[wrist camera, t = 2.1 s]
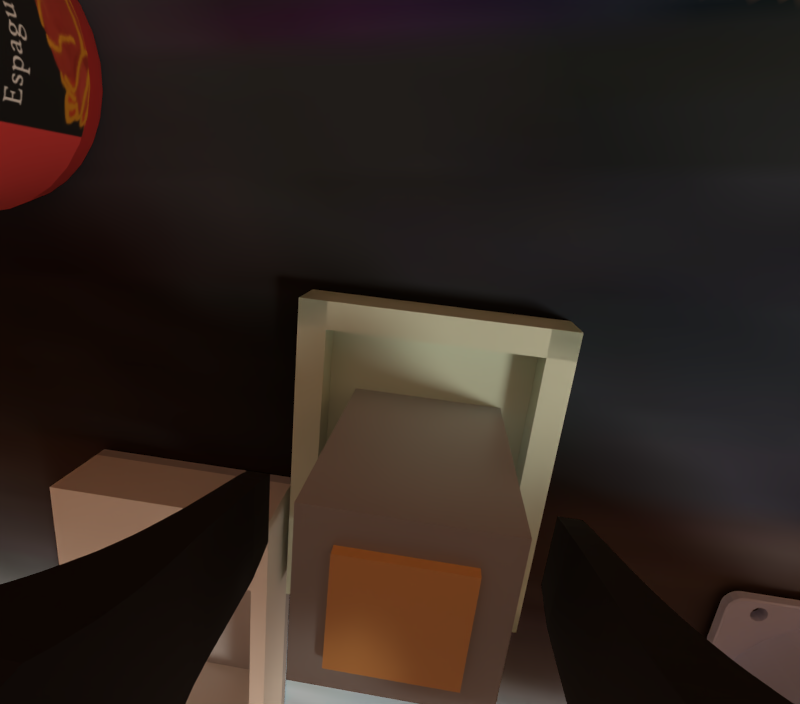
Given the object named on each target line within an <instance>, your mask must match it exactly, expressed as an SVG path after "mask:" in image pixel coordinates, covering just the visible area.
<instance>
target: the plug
mask: <svg viewBox="0 0 800 704" xmlns="http://www.w3.org/2000/svg"><path fill="white" fill-rule="evenodd" d="M531 542H532V537H531V532H530V528H529V524H528V520H527V516H526V512H525V508H524V504H523V500H522V495H521V491H520V487H519V483H518V479H517V475H516V471H515V467H514V462H513V458H512V454H511V450H510V446H509V442H508V438H507V434H506V430H505V425H504V421H503V417H502V413H501V409H500V408H496V407H489V406H482V405H474V404H467V403H460V402H452V401H445V400H438V399H430V398H423V397H416V396H409V395H401V394H394V393H387V392H379V391H372V390H365V389H358V388H356V389H355V391H354V393H353V394H352V396H351V398H350V400H349V402H348V404H347V406H346V407H345V409H344V411H343V413H342V415H341V417H340V418H339V420H338V422H337V424H336V426H335V428H334V430H333V431H332V433H331V435H330V437H329V439H328V441H327V443H326V444H325V446H324V448H323V450H322V452H321V454H320V456H319V457H318V459H317V461H316V463H315V465H314V467H313V469H312V470H311V472H310V474H309V476H308V478H307V480H306V482H305V483H304V485H303V487H302V489H301V491H300V493H299V495H298V496H297V498H296V500H295V502H294V520H293V542H292V563H291V585H290V607H289V628H288V650H287V672H286V680H292V681H298V682H303V683H309V684H314V685H320V686H325V687H331V688H336V689H342V690H347V691H353V692H358V693H364V694H369V695H375V696H380V697H386V698H391V699H397V700H402V701H408V702H413V703H419V704H496V701H497V696H498V692H499V687H500V683H501V678H502V673H503V669H504V664H505V660H506V655H507V651H508V646H509V642H510V637H511V633H512V628H513V624H514V619H515V615H516V610H517V606H518V601H519V596H520V592H521V587H522V583H523V578H524V574H525V569H526V565H527V560H528V556H529V551H530V547H531Z"/></svg>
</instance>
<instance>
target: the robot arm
mask: <svg viewBox="0 0 800 704" xmlns="http://www.w3.org/2000/svg"><path fill="white" fill-rule="evenodd" d="M269 497H270V474H266V473H259V472H253V471H245V472H244V473H242V474H240V475H238V476H236V477H235V478H233V479H231V480H230V481H228V482H226V483H225V484H223V485H222V486H220V487H218V488H217V489H215V490H213V491H212V492H210V493H208V494H207V495H205V496H203V497H202V498H200V499H198V500H197V501H195V502H193V503H192V504H190V505H188V506H186V507H185V508H183V509H181V510H179V511H178V512H176V513H174V514H172V515H170V516H168V517H166V518H165V519H163V520H161V521H159V522H157V523H155V524H153V525H151V526H150V527H148V528H146V529H144V530H142V531H140V532H138V533H136V534H134V535H132V536H130V537H127V538H125V539H123V540H121V541H119V542H116V543H114V544H112V545H109V546H107V547H105V548H103V549H100V550H98V551H96V552H93V553H91V554H88V555H85V556H83V557H80V558H77V559H75V560H72V561H69V562H66V563H64V564H61V565H58V566H56V567H53V568H50V569H47V570H45V571H42V572H39V573H36V574H33V575H30V576H27V577H23V578H20V579H17V580H14V581H11V582H7V583H4V584H0V704H186V701H187V699H188V697H189V695H190V693H191V690H192V688H193V686H194V684H195V682H196V680H197V678H198V676H199V674H200V672H201V671H202V669H203V667H204V665H205V663H206V661H207V659H208V658H209V656H210V654H211V652H212V651H213V649H214V647H215V645H216V644H217V642H218V640H219V638H220V637H221V635H222V633H223V631H224V630H225V628H226V626H227V624H228V623H229V621H230V619H231V617H232V616H233V614H234V612H235V610H236V609H237V607H238V605H239V603H240V601H241V600H242V598H243V596H244V594H245V592H246V591H247V589H248V587H249V585H250V583H251V582H252V580H253V578H254V575H255V573H256V571H257V568H258V566H259V564H260V561H261V559H262V556H263V554H264V551H265V549H266V546H267V544H268V534H269ZM541 586H542V594H543V602H544V609H545V616H546V623H547V628H548V632H549V636H550V640H551V644H552V648H553V652H554V656H555V660H556V664H557V667H558V671H559V675H560V678H561V682H562V686H563V690H564V693H565V697H566V701H567V704H800V600H794V599H788V598H782V597H775V596H769V595H763V594H756V593H750V592H744V591H733V592H730V593H728V594H726V595H725V596H724V597H723V598H722V600H721V601H720V604H719V607H718V609H717V612H716V615H715V617H714V620H713V623H712V625H711V628H710V631H709V633H708V636H707V639H706V638H705V637H703V636H702V635H701V634H700V633H698V632H697V631H696V630H695V629H694V628H693V627H691V626H690V625H689V624H688V623H687V622H686V621H684V620H683V619H682V618H681V617H680V616H679V615H678V614H677V613H676V612H674V611H673V610H672V609H671V608H670V607H669V606H668V605H667V604H666V603H665V602H664V601H662V600H661V599H660V598H659V597H658V596H657V595H656V594H655V593H654V592H653V591H652V590H651V589H650V588H649V587H648V586H647V585H646V584H645V583H644V582H643V581H642V580H641V579H640V578H639V577H638V576H637V575H636V574H635V573H634V572H633V571H632V570H631V569H630V568H629V567H628V566H627V565H626V564H625V563H624V562H623V561H622V560H621V559H620V558H619V557H618V556H617V555H616V554H615V553H614V552H613V551H612V550H611V549H610V548H609V546H608V545H607V544H606V543H605V542H604V541H603V540H602V539H601V538H600V537H599V536H598V535H597V534H596V533H595V532H594V531H593V530H592V529H591V528H590V527H589V526H588V525H587V524H586V523H585V522H584V521H583V520H577V519H570V518H563V517H557V521H556V525H555V529H554V534H553V538H552V542H551V546H550V550H549V555H548V559H547V563H546V567H545V572H544V576H543V580H542V584H541ZM756 608H759V609H758V610H755V611H753V610H754V609H756Z"/></svg>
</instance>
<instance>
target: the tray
mask: <svg viewBox="0 0 800 704" xmlns="http://www.w3.org/2000/svg"><path fill="white" fill-rule="evenodd" d="M582 337H583V332H582V331H581V330H580V329H579V328H578V327H576V326H575V325H574V324H573V323H572V322H571V321H566V320H558V319H549V318H541V317H533V316H525V315H517V314H509V313H501V312H493V311H485V310H477V309H468V308H460V307H452V306H444V305H436V304H428V303H420V302H412V301H404V300H396V299H387V298H379V297H371V296H363V295H355V294H347V293H339V292H331V291H323V290H315V289H313V290H311V291H309V292H307V293H306V294H304V295H302V296H300V297H299V302H298V325H297V348H296V372H295V395H294V418H293V441H292V464H291V488H290V511H289V534H288V557H287V581H286V594H290V585H291V563H292V542H293V520H294V502H295V500H296V498H297V496H298V495H299V493H300V491H301V489H302V487H303V485H304V483H305V482H306V480H307V478H308V476H309V474H310V472H311V470H312V469H313V467H314V465H315V463H316V461H317V459H318V457H319V456H320V454H321V452H322V450H323V448H324V446H325V444H326V443H327V441H328V439H329V437H330V435H331V433H332V431H333V430H334V428H335V426H336V424H337V422H338V420H339V418H340V417H341V415H342V413H343V411H344V409H345V407H346V406H347V404H348V402H349V400H350V398H351V396H352V394H353V393H354V391H355V389H356V388H358V389H365V390H372V391H379V392H387V393H394V394H401V395H409V396H416V397H423V398H430V399H438V400H445V401H452V402H460V403H467V404H474V405H482V406H489V407H496V408H500V409H501V413H502V417H503V421H504V425H505V430H506V434H507V438H508V442H509V446H510V450H511V454H512V458H513V462H514V467H515V471H516V475H517V479H518V483H519V487H520V491H521V495H522V500H523V504H524V508H525V512H526V516H527V520H528V524H529V528H530V532H531V537H532V542H531V547H530V551H529V556H528V560H527V565H526V569H525V574H524V578H523V583H522V587H521V592H520V596H519V601H518V606H517V610H516V615H515V619H514V624H513V628H512V632H515V633H516V631H517V627H518V622H519V618H520V614H521V609H522V605H523V600H524V596H525V591H526V587H527V582H528V578H529V573H530V569H531V565H532V560H533V556H534V551H535V547H536V542H537V538H538V533H539V529H540V524H541V520H542V516H543V511H544V507H545V502H546V498H547V493H548V489H549V484H550V480H551V475H552V471H553V467H554V462H555V458H556V453H557V449H558V444H559V440H560V435H561V431H562V426H563V422H564V418H565V413H566V409H567V404H568V400H569V395H570V391H571V386H572V382H573V377H574V373H575V369H576V364H577V360H578V355H579V351H580V346H581V342H582Z"/></svg>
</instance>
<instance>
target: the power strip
mask: <svg viewBox="0 0 800 704" xmlns="http://www.w3.org/2000/svg"><path fill="white" fill-rule="evenodd" d="M245 471H246V470H239V469H232V468H226V467H219V466H213V465H206V464H199V463H193V462H186V461H180V460H173V459H166V458H160V457H153V456H147V455H140V454H133V453H127V452H120V451H114V450H107V449H104V450H102V451H101V452H100V453H98V454H97V455H95V456H94V457H92V458H91V459H89V460H88V461H87V462H85V463H84V464H82V465H81V466H79V467H78V468H76V469H75V470H73V471H72V472H71V473H69V474H68V475H66V476H65V477H63V478H62V479H60V480H59V481H57V482H56V483H55V484H53V485H52V486H50V495H51V503H52V511H53V519H54V527H55V535H56V543H57V551H58V559H59V565H61V564H64V563H66V562H69V561H72V560H75V559H77V558H80V557H83V556H85V555H88V554H91V553H93V552H96V551H98V550H100V549H103V548H105V547H107V546H109V545H112V544H114V543H116V542H119V541H121V540H123V539H125V538H127V537H130V536H132V535H134V534H136V533H138V532H140V531H142V530H144V529H146V528H148V527H150V526H151V525H153V524H155V523H157V522H159V521H161V520H163V519H165V518H166V517H168V516H170V515H172V514H174V513H176V512H178V511H179V510H181V509H183V508H185V507H186V506H188V505H190V504H192V503H193V502H195V501H197V500H198V499H200V498H202V497H203V496H205V495H207V494H208V493H210V492H212V491H213V490H215V489H217V488H218V487H220V486H222V485H223V484H225V483H226V482H228V481H230V480H231V479H233V478H235V477H236V476H238V475H240V474H242V473H244V472H245ZM290 488H291V477H285V476H279V475H272V474H270V497H269V534H268V544H267V546H266V549H265V551H264V554H263V556H262V559H261V561H260V564H259V566H258V568H257V571H256V573H255V575H254V578H253V580H252V582H251V583H250V585H249V587H248V589H247V591H246V592H245V594H244V596H243V598H242V600H241V601H240V603H239V605H238V607H237V609H236V610H235V612H234V614H233V616H232V617H231V619H230V621H229V623H228V624H227V626H226V628H225V630H224V631H223V633H222V635H221V637H220V638H219V640H218V642H217V644H216V645H215V647H214V649H213V651H212V652H211V654H210V656H209V658H208V659H207V661H206V663H205V665H204V667H203V669H202V671H201V672H200V674H199V676H198V678H197V680H196V682H195V684H194V686H193V688H192V690H191V693H190V695H189V697H188V699H187V701H186V704H284V698H285V676H286V654H287V632H288V610H289V594H286V581H287V557H288V534H289V511H290Z"/></svg>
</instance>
